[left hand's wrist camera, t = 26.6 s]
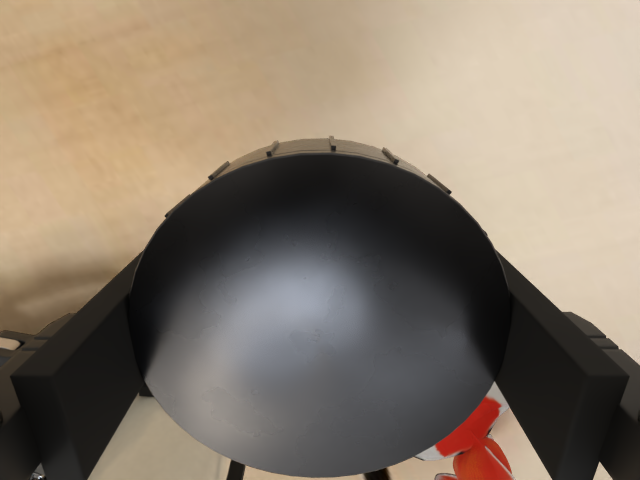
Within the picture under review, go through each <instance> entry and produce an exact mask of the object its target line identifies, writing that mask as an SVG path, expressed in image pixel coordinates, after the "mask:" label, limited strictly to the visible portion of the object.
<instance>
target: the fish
mask: <svg viewBox="0 0 640 480" xmlns="http://www.w3.org/2000/svg"><path fill="white" fill-rule="evenodd" d="M508 408H509V405H508V403H507V402H506V400H505V398H504V397H503V395H502V393H501V391H500V390H499V388H498V386H497V385H496V383H495V381H494V383H493V385H492V387H491V389H490V390H489V392H488V393H487V395H486V396H485V398H484V399H483V400H482V402H481V403H480V405H479V406H478V407H477V408H476V409H475V411H474V412H473V413H472V414H471V415H470V416H469V417H468V418H467V419H466V421H465V422H463V423H462V424H461V425H460V426H459V427H458V428H457V429H455V430H454V431H453V432H452V433H451V434H450V435H448V436H447V437H445V438H444V439H443V440H441V441H440V442H438V443H437V444H435V445H434V446H433V447H431V448H429V449H427V450H425V451H423V452H422V453H420V454H418V455H416V456H414V457H416V458H418V459H421V460H439V459H444V458H449V457H453V456H454V460H453V468H454V471H455V474H456V475H453V474H448V473H440V474H437V475H436V477H435V480H515V478H514V476H513V475H512V472H511V468H510V465H509V463H508V461H507V459H506V457H505V455H504V453H503V451H502V450H501V448H500V447H499V445H498V444H497V443H496V442H495V441H494V440H493V438H492V436H491V434H489V433H490V431H491V429H492V427H493V426H494V424H495V422H496V421H497V419H498V417H499V416H500V415H501V414H503V413H504V412H505V411H506V410H507V409H508ZM486 436H487V437H486Z"/></svg>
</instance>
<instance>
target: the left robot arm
mask: <svg viewBox="0 0 640 480" xmlns="http://www.w3.org/2000/svg"><path fill="white" fill-rule="evenodd" d="M143 251H144V250H143ZM143 251H142V252H141V253H140V254H139V255H138V256H137V257H136V258H135V259H134V260H133V261H132V262H130V263H129V264H128V265H127V266H126V267H125V268H124V269H123V270H122V271H121V272H120V273H119V274H118V275H117V276H116V277H115V278H113V279H112V280H111V281H110V282H109V283H108V284H107V285H106V286H105V287H104V288H103V289H102V290H101V291H100V292H99V293H97V294H96V295H95V296H94V297H93V298H92V299H91V300H90V301H89V302H88V303H87V304H86V305H85V306H84V307H83V308H82V309H80V310H79V311H78V312H77V313H69V314H67V315H65V316H63V317H61V318H60V319H58V320H56V321H54V322H52V323H50V324H49V325H47V326H46V327H45V328H44V329H43V330H42V331H41V332H40V333H38V334H37V335H36V336H35V337H34V340H30V341H29V342H28V343H27V344H26V345H25V346H24V347H23V348H22V351H18V352H17V353H16V354H15V355H14V356H12V357H11V358H10V359H9V360H8V361H7V362H6V363H4V364H3V365H2V366H1V367H0V480H28V479H29V478H30V477H31V475H32V474H33V473H34V471H35V470H36V469H37V467H38V466H39V464H40V463H41V465H42V468H43V470H44V473H45V476H46V479H47V480H87V479H88V478H89V476H90V474H91V473H92V471H93V469H94V468H95V466H96V464H97V462H98V461H99V459H100V457H101V456H102V454H103V452H104V451H105V449H106V447H107V445H108V444H109V442H110V440H111V439H112V437H113V435H114V434H115V432H116V430H117V428H118V427H119V425H120V423H121V422H122V420H123V418H124V417H125V415H126V413H127V411H128V410H129V408H130V406H131V405H132V403H133V401H134V400H135V398H136V396H137V394H138V393H139V391H140V389H141V388H142V386H143V384H144V383H145V381H144V379H143V378H142V375H141V373H140V370H139V368H138V365H137V363H136V360H135V355H134V351H133V346H132V341H131V337H130V331H129V324H128V307H129V295H130V290H131V285H132V281H133V277H134V273H135V270H136V268H137V265H138V263H139V260H140V258H141V256H142V253H143ZM495 251H496V250H495ZM496 253H497V255H498V257H499V259H500V261H501V263H502V266H503V269H504V273H505V276H506V279H507V283H508V287H509V294H510V302H511V327H510V332H509V337H508V342H507V347H506V352H505V356H504V360H503V363H502V366H501V369H500V371H499V373H498V375H497V377H496V379H495V383H496V385H497V386H498V388H499V390H500V391H501V393H502V395H503V397H504V398H505V400H506V402H507V403H508V405H509V407H510V408H511V410H512V412H513V414H514V415H515V417H516V419H517V420H518V422H519V424H520V425H521V427H522V429H523V431H524V432H525V434H526V436H527V437H528V439H529V441H530V442H531V444H532V446H533V448H534V449H535V451H536V453H537V454H538V456H539V458H540V459H541V461H542V463H543V465H544V466H545V468H546V470H547V471H548V473H549V475H550V476H551V478H552V480H593V478H594V475H595V472H596V469H597V467H598V464H599V461H600V463H601V464H602V465H603V467H604V468H605V469H606V471H607V472H608V473H609V475H610V476H611V477H612V479H613V480H640V365H639V364H638V363H636V362H635V361H634V360H633V359H632V358H631V357H630V356H628V355H627V354H626V353H625V352H624V351H623V350H622V349H618V346H617V345H616V344H615V343H614V342H613V341H611V340H610V339H609V338H606V335H605V334H603V333H602V332H601V331H600V330H599V329H598V328H597V327H595V326H594V325H593V324H592V323H591V322H589V321H587V320H585V319H583V318H581V317H579V316H578V315H576V314H574V313H572V312H561V311H560V310H559V309H558V308H557V307H556V306H555V305H554V304H553V303H552V302H551V301H550V300H549V299H548V298H546V297H545V296H544V295H543V294H542V293H541V292H540V291H539V290H538V289H537V288H536V287H535V286H534V285H533V284H532V283H531V282H529V281H528V280H527V279H526V278H525V277H524V276H523V275H522V274H521V273H520V272H519V271H518V270H517V269H516V268H515V267H513V266H512V265H511V264H510V263H509V262H508V261H507V260H506V259H505V258H504V257H503V256H502V255H501V254H500V253H499V252H498V251H496Z"/></svg>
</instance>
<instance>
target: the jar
mask: <svg viewBox="0 0 640 480" xmlns="http://www.w3.org/2000/svg"><path fill="white" fill-rule="evenodd" d="M230 464H231V459H229V458H227V457H225V456H223V455H221V454H219V453H217V452H215V451H213V450H211V449H210V448H208V447H207V446H205V445H204V444H202V443H201V442H199V441H197V440H196V439H195V438H193V437H192V436H191V435H190V434H188V433H187V432H186V431H185V430H183V429H182V428H181V427H180V426H179V425H178V424H177V423H176V422H175V421H174V420H173V419H172V418H171V417H170V416H169V415H168V414H167V413H166V412H165V411H164V410H163V408H162V407H161V406H160V404H159V403H158V402H157V400H156V399H155V398H154V397H146V396H139V393H138V394H137V396H136V398H135V400H134V401H133V403H132V405H131V406H130V408H129V410H128V411H127V413H126V415H125V417H124V418H123V420H122V422H121V423H120V425H119V427H118V428H117V430H116V432H115V434H114V435H113V437H112V439H111V440H110V442H109V444H108V445H107V447H106V449H105V451H104V452H103V454H102V456H101V457H100V459H99V461H98V462H97V464H96V466H95V468H94V469H93V471H92V473H91V474H90V476H89V478H88V479H87V480H227V477H228V472H229V468H230Z"/></svg>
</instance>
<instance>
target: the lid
mask: <svg viewBox="0 0 640 480" xmlns="http://www.w3.org/2000/svg"><path fill="white" fill-rule="evenodd" d="M208 178H209V180H207V181H206V182H205V183H204V184H203V185H202V186H200V187H199V188H198V189H197V190H196V191H195V192H193V193H192V194H191V195H190V194H189V195H188V196H187V197H186V198H184V199H183V200H182V201H181V202H180V203H178V204H177V205H176V206H175V207H174V208H173V209H171V210H170V211H169V212H168V213H167V214H166V215H165V217H166V219H165V220H164V221H163V222H162V224H161V225H160V226H159V227H158V228H157V229H156V231H155V233H154V234H153V236H152V238H151V239H150V241H149V242H148V244H147V246H146V247H145V249H144V251H143V253H142V256H141V258H140V260H139V263H138V265H137V268H136V270H135V273H134V277H133V281H132V285H131V290H130V295H129V307H128V324H129V331H130V337H131V341H132V346H133V351H134V355H135V360H136V363H137V365H138V368H139V370H140V373H141V375H142V378H143V379H144V381H145V383H146V385H147V386H148V388H149V390H150V392H151V393H152V395H153V396H154V398H155V399H156V400H157V402H158V403H159V404H160V406H161V407H162V408H163V410H164V411H165V412H166V413H167V414H168V415H169V416H170V417H171V418H172V419H173V420H174V421H175V422H176V423H177V424H178V425H179V426H180V427H181V428H182V429H183V430H185V431H186V432H187V433H188V434H190V435H191V436H192V437H193V438H195V439H196V440H197V441H199V442H201V443H202V444H204V445H205V446H207V447H208V448H210V449H211V450H213V451H215V452H217V453H219V454H221V455H223V456H225V457H227V458H229V459H231V460H234V461H236V462H239V463H242V464H244V465H247V466H249V467H253V468H256V469H260V470H264V471H267V472H271V473H277V474H283V475H288V476H297V477H311V478H322V477H341V476H350V475H357V474H362V473H367V472H371V471H376V470H379V469H382V468H386V467H389V466H392V465H395V464H398V463H400V462H402V461H405V460H407V459H410V458H412V457H414V456H416V455H418V454H420V453H422V452H423V451H425V450H427V449H429V448H431V447H433V446H434V445H435V444H437V443H438V442H440V441H441V440H443V439H444V438H445V437H447V436H448V435H450V434H451V433H452V432H453V431H454V430H455V429H457V428H458V427H459V426H460V425H461V424H462V423H463V422H465V421H466V419H467V418H468V417H469V416H470V415H471V414H472V413H473V412H474V411H475V409H476V408H477V407H478V406H479V405H480V403H481V402H482V400H483V399H484V398H485V396H486V395H487V393H488V392H489V390H490V389H491V387H492V385H493V383H494V381H495V379H496V377H497V375H498V373H499V371H500V369H501V366H502V363H503V360H504V356H505V352H506V347H507V342H508V337H509V332H510V327H511V302H510V294H509V287H508V283H507V279H506V276H505V273H504V269H503V266H502V263H501V261H500V259H499V257H498V255H497V253H496V251H495V248H494V246H493V244H492V242H491V241H490V239H489V238H488V237H487V233H486V232H485V231H484V230H483V229H482V228H481V226H480V225H479V224H478V222H477V221H476V220H475V219H474V218H473V217H472V216H471V215H470V214H469V213H468V212H467V211H466V210H465V208H464V207H463V206H462V205H461V204H460V203H459V202H457V201H456V200H455V199H454V198H453V197H451V196H450V194H451V193H452V192H451V191H450V190H449V189H448V188H446V187H445V186H444V185H443V184H441V183H440V182H439V181H438V180H437V179H435V178H434V177H433V176H432V175H430V174H428V175H427V176H426V175H425V174H424V173H422V172H421V171H420V170H418V169H417V168H416V167H415V166H413V165H411V164H409V163H408V162H406V161H404V160H402V159H401V158H399V157H397V156H395V155H393V154H392V153H391V152H390V151H389V150H388V149H387V148H384V147H383V149H382V150H381V149H378V148H376V147H373V146H369V145H365V144H361V143H357V142H353V141H346V140H337V139H334V137H333V136H329V139H328V138H326V139H301V140H294V141H288V142H282V143H279V142H278V141H274V142H273V144H272V145H271V146H268V147H264V148H261V149H258V150H256V151H254V152H251V153H249V154H247V155H245V156H243V157H240V158H238V159H236V160H235V161H233V162H232V163H229V162H228V161H227V162H226V163H224V164H223V165H222V166H221V167H219V168H218V169H217V170H216V171H215V172H213V173H212V174H211V175H210V176H209V177H208Z"/></svg>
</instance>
